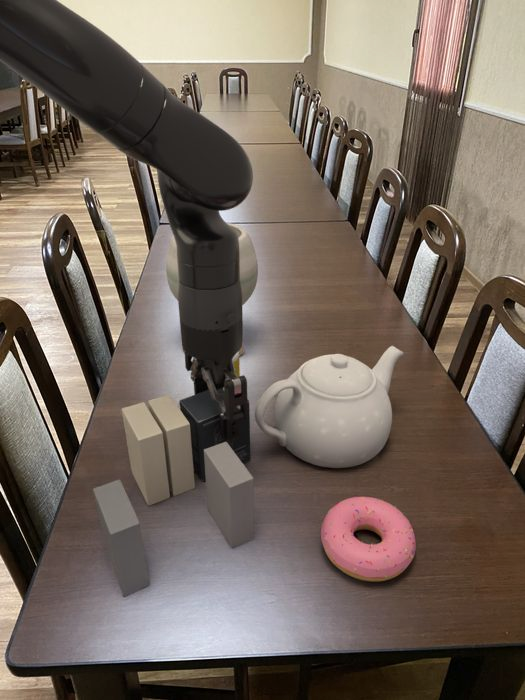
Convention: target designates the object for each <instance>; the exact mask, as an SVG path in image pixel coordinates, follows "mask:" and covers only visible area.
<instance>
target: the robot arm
mask: <svg viewBox="0 0 525 700" xmlns="http://www.w3.org/2000/svg"><path fill="white" fill-rule="evenodd" d="M0 62H1V63H2V64H4V65H5V66H7V68H9V69H11V70H12V71H14V73H16V74H17V75H19V76H20V77H21V78H23V79H24V80H25V81H27V82H28V83H29V84H30V85H32V86H33V87H35V89H37V90H38V91H40V92H41V93H42V94H44V96H46V97H47V98H49V99H50V100H51V101H52V102H54V103H55V104H56V105H58V106H59V107H60V108H62V110H65V111H66V112H67V113H68V114H69V115H71V116H72V117H74V118H75V119H76V120H77V121H79V122H80V123H81V124H83V125H84V126H86V128H88V129H90V130H91V131H92V132H94V133H95V134H96V135H98V136H99V137H100V138H101V139H103V140H104V141H106V142H107V143H109V144H110V145H111V146H112V147H114V148H115V149H117V150H118V151H120V152H121V153H123V154H124V155H126V156H127V157H129V158H130V159H133V160H134V161H137V162H139V163H142V164H145V165H147V166H149V167H152V168H153V169H155V170H156V171H157V172H156V175H157V184H158V190H159V193H160V198H161V200H162V204H163V207H164V211H165V214H166V216H167V217H166V218H167V222H168V224H169V227H170V230H171V233H172V236H173V235H174V238H175V241H176V246H177V263H178V275H179V288H178V300H177V303H178V315H179V316H178V317H179V327H180V328H179V329H180V339H181V348H182V347H183V350H184V351H185V352H184V351H183V350H182V351H183V352H184V364H185V365H184V367H185V370H186V371H187V372H190V379H191V381H192V382H193V393H194V395H196V394H198V393H201V392H204V391H207V390H209V392H210V395H211V399H212V401H213V402H216V403H217V406H218V409H219V412H220V427H221V437H222V439H223V440H224V441H227V440H230V439H233V438H235V437H237V436H238V434H239V430H238V421H240V420H243V419H246V418H248V400H249V399H248V381H247V377H246V376H245V375H243V374H242V375H240V376H239V377H237V376H236V375H235V374H234V373H235V367H234V364H233V361H232V359H233V357H234V356H235V354H236V353H237V352H238V351H239V350H240V349H241V347H242V344H243V343H244V331H243V330H244V329H243V328H244V325H243V323H244V322H243V318H244V317H243V305H242V290H241V284H240V255H239V240H238V236H237V234H236V232H235V231H234V229H233V228H231V227H230V226H229V225H228V224H227V223H228V222H226V221H225V220H224V219H223V217H222V215H221V214H220V212H223V211H229V210H231V209H235V208H237V207H238V206H239V205H241V204H242V203H243V202H244V201H245V200H246V199H247V197H248V196H249V195H250V192H251V190H252V186H253V182H254V171H253V166H252V162H251V159H250V157H249V155H248V153H247V152H246V150H245V149H244V147H243V146H242V145H241V144H240V142H238V140H237V139H235V138H234V137H233V136H232V135H231V134H230V133H228V132H227V131H226V130H224V129H223V128H222V127H220V126H219V125H218V124H216V123H214V121H211V120H210V119H208V118H207V117H206V116H204V115H203V114H202V113H200V112H198V110H195V109H194V108H192V107H190V106H189V105H187V104H186V103H184V102H183V101H182V100H180V99H179V98H178V97H177V96H175V95H174V94H173V93H172V92H171V91H170V90H169V88H167V87H166V86H165V84H163V83H162V82H161V81H160V80H159V79H158V78H157V77H156V76H155V75H154V74H153V73H151V71H150V70H148V69H147V68H146V67H145V66H144V65H143V64H142V63H141V62H140V61H139V60H138V59H137V58H136V57H134V56H133V55H132V54H131V52H129V51H128V50H126V49H125V48H124V47H123V46H122V45H121V44H119V43H118V42H117V41H116V40H115V39H114V38H112V37H111V36H110V35H108V34H106V32H104V31H102V30H101V29H100V28H98V26H96V25H94V24H93V23H91V22H90V21H88V20H87V19H86V18H84V17H82V16H81V15H80V14H78V13H76V12H75V11H74V10H72V9H71V8H69V7H67V6H66V5H65V4H63V3H62V2H61V1H59V0H0ZM243 345H244V344H243ZM221 388H223V391H224V393H223V394H218V393H217V391H216V390H218V389H221ZM224 399H225V406H224V402H223V401H224ZM225 408H226V409H225Z"/></svg>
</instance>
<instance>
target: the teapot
mask: <svg viewBox="0 0 525 700" xmlns="http://www.w3.org/2000/svg"><path fill="white" fill-rule="evenodd" d="M404 354H405V353H404V352H403V351H402V350H400V349H399V348H397V347H396V346H394V345H391V346H389V347H388V348H387V349H386V350H385V351H384V352H383V354H382V355H381V357H380V358H379V360H378V361H377V363H376V364H375V365H374V366H373V368H372V369H371V368H370V367H369V366H368V365H366V364H365V363H363V362H362V361H360V360H358V359H356V358H354V357H352V356H348V355H344V353H343V354H342V353H333V354H325V355H320V356H317V357H313V358H312V359H309V360H307V361H305V362H304V363H303V364H301V365H300V367H299V368H298V369H296V370H295V371H294V372H293V373H292V374H291V375H289V376H288V378H286V379H281V380H278V381H276V382H274V383H272V384H271V385H270V386H269V387H268V388H267V389H265V391H264V392H263V393H262V394H261V397H260V398H259V400H258V402H257V404H256V407H255V411H254V420H255V422H256V424H257V426H258V427H259V428H260V430H261V431H263V432H264V433H266V434H267V435H269V436H272V437H274V438H276V439H277V442H278V444H279V445H280V446H281V447H285V448H286V450H288V451H289V452H290V453H291V454H292V455H293V456H296V457H297V458H298V459H300V460H302V461H304V462H306V463H309V464H311V465H315V466H318V467H322V468H329V469H330V468H331V469H346V468H351V467H356V466H359V465H362V464H364V463H367V462H368V461H370V460H372V459H373V458H374V457H376V456H377V455H378V454H379V453H380V452H381V451H382V450H383V448H384V447H385V445H386V443H387V442H388V439H389V436H390V434H391V429H392V426H393V425H392V424H393V409H392V403H391V400H390V397H389V391H390V387H391V382H392V377H393V372H394V369H395V365H396V363H397V362H398V360H399V359H400V358H402V356H404ZM276 396H277V397H276ZM275 397H276V401H275V406H274V412H273V413H274V414H273V415H274V416H273V417H274V418H273V419H274V425H275V426H274V427H272V426H270V425H268V424H267V423H266V422H265V419H264V417H265V413H266V410H267V408H268V406H269V404H270V403H271V402H272V400H273V399H274V398H275Z"/></svg>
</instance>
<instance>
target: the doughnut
mask: <svg viewBox="0 0 525 700" xmlns="http://www.w3.org/2000/svg"><path fill="white" fill-rule="evenodd" d="M361 530H368V531H371V532H374V533H376V534H377V535H378V536H379V537H380V538H381V541H380V542H378V543H375V542H372V543H371V544H370V543H368V542H367V543H365V542H363V540H361V541H360V539H359V538H358V539H357V537H355V534H354V533H355V532H357V531H361ZM416 536H417V534H415V533H414V529H413V526H412V525H411V523H410V519H408V518H407V517H406V516H405V513H404V512H402V511H400V510H399V509H398V508H397V506H396V505H395V506H394V505H393V504H391V503H389V502H387V501H386V499H384V500H382V499H379V498H377V497H371V496H363V495H361V496H358V495H357V494H356V496H353V497H349V498H348V497H347V498H345V499H344V500H341V501H338V502H336V504H334V506H332V507H331V508H328V511H327V513H326V515H324V518H323V521H322V523H321V527H320V539H321V543H322V547H323V549H324V552H325V554H326V555H327V557H328V559H329V560H330V562H331V563H332V564H333V565H334V566H335V567H336V568H337V569H338V570H340V571H341V572H343V573H344V574H346V575H347V576H350V577H352V578H354V579H357V580H360V581H363V582H364V581H365V582H373V583H374V582H384V581H388V580H392V579H394V578H396V577H398V576H400V575H401V574H402V573H403V572H404V571H405V570H406V569H408V566H409V565H410V564H411V563H412V561H413V559H414V558H415V555H416V549H417V542H416Z"/></svg>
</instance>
